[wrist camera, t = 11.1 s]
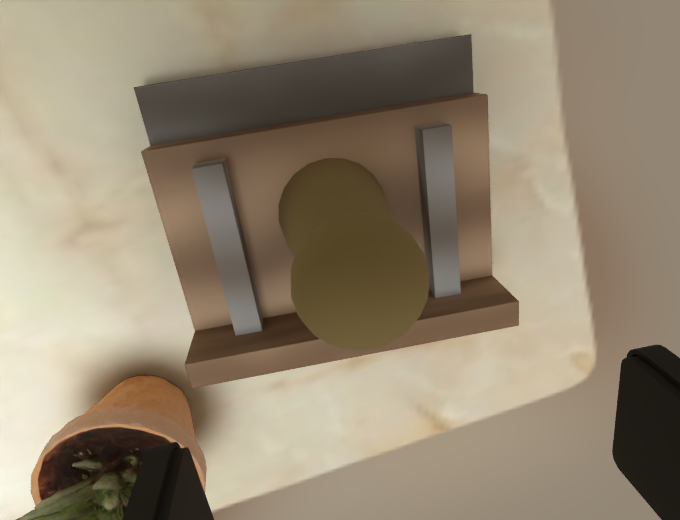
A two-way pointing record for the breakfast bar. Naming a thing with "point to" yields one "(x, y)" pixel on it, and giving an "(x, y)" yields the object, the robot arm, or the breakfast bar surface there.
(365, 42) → the breakfast bar surface
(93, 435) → the potted plant
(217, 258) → the loading dock
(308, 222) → the olive rounded upright piece
